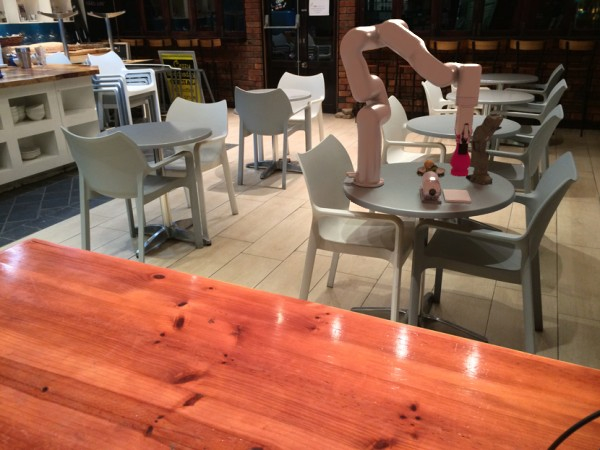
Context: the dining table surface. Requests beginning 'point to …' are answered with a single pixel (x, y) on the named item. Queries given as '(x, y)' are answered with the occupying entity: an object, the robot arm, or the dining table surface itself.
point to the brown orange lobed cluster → (430, 168)
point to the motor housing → (430, 188)
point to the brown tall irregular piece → (483, 148)
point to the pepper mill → (460, 160)
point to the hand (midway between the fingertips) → (461, 151)
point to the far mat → (456, 196)
